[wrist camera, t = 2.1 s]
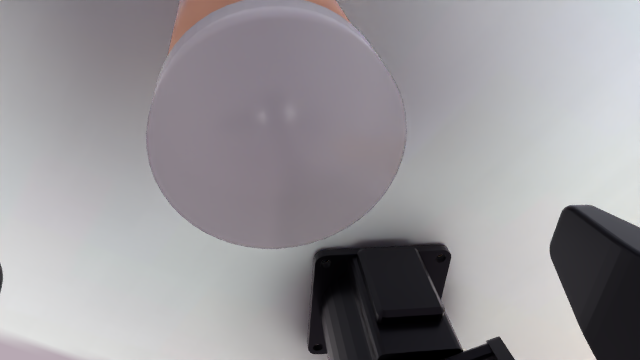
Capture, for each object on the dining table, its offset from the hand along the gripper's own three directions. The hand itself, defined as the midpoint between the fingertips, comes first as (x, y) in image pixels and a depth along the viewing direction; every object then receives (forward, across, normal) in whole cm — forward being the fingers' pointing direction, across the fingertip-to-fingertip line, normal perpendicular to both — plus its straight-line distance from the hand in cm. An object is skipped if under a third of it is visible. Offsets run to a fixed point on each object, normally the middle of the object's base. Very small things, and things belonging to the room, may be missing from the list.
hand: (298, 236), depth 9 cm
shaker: (+13, 0, 0) cm, 13 cm away
